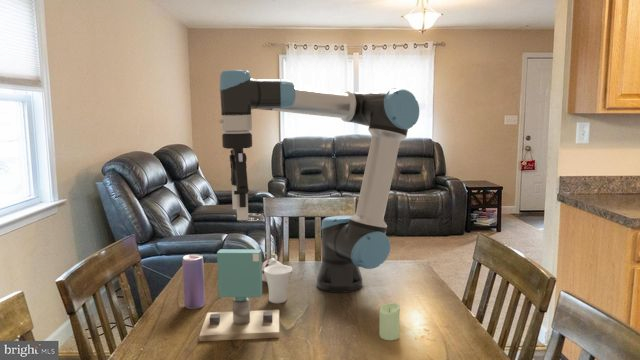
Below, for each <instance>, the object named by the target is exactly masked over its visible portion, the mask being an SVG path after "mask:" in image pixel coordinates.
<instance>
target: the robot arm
mask: <svg viewBox="0 0 640 360" xmlns="http://www.w3.org/2000/svg"><path fill="white" fill-rule="evenodd" d="M219 95H220V96H219V97H220V109H221V110H220V111H221V113H220V114H221V119H219V120H218V123H219V124H221V131H222V132H224V133H222V135H221V136H222V137H221V138H222V148H223V149H226V150H227V149H228V150H229V149H230V151H229V152H230V154H229V161H230V181H231V182H230V183H231V198H232V199H231V200H232V201H231V202H232V210H236V220H237V221H246V220H247V221H248V220H249V194H248V193H249V191H250V189H249V184H248V172H247V154H246V152H244V149H249V148H250V149H251V148H252V147H253V133H251V131H253V119H252V110H262V111H274V112H282V113H291V114H302V115H309V116H319V117H329V118H338V119H341V120H342V121H343V122H344V123H345V122H346V123H354V124H357V125H362V126H366V127H368V131H369V133H370V135H371V139H370V140H371V141H370V145H369V149H368V155H367V159H366V162H365V163H366V165H365V168H364V173H363V177H362V181H361V182H362V183H361V185H360V192H359V197H358V200H357V205H356V211H355V213H354V214H353V215H347V214H346V215H333V216H328V217H327V216H326V217H325V218H323V219H322V221H321V228H320V230H321V262H320V263H321V264H320V267H319V269H318V272H317V276H316V286H317V288H318V289H321V290H322V291H326V292H331V293H350V292H355V291H357V290H359V289H361V288H362V287H363V276H362V274H361V270H360V268H363V269H366V270H372V269H376V268H378V267H380V265H382V264H384V263H385V262H386V260H387V259H388V257H389V255H390V253H391V249H392V248H391V247H392V246H391V241H390V239H389V238H390V237H388V236H387V235H386V234H387V230H388V225H387V223H386V221H385V218H384V217H385V215H386V210H387V205H388V201H389V200H388V199H389V196H390V191H391V185H392V182H393V181H392V180H393V176H394V171H395V167H396V163H397V158H398V153H399V149H400V146H401V145H400V144H401V142H402V141H403V140H405V139H406V138H407V135H408V131H409V130H410V129H411V128H412V127H414V126H415V125H416V124H417V122H418V120H419V118H420V106H419V105H420V104H419V102H418V100H417V99H416V97H415V95H414V94H413V92H411V91H409V90H407V89H404V88H396V87H395V88H391V89H379V90H378V89H377V90H375V89H374V90H367V91H350V90H349V91H348V90H347V91H345V92H344V93H339V92H338V93H337V92H331V91H324V90H316V89H309V88H303V87H301V88H300V87H295V85H294V83H293V82H292V81H291V80H289V79H282V78H279V79H278V78H277V79H275V78H274V79H273V78H271V79H270V78H269V79H267V78H262V79H260V78H259V79H257V78H251V73H250V71H249V70H245V69H227V70H222V72H221V73H220V75H219Z"/></svg>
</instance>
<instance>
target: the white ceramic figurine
mask: <svg viewBox="0 0 640 360" xmlns="http://www.w3.org/2000/svg"><path fill="white" fill-rule="evenodd" d="M270 256H271V258H270V259H267V260H265V261H264V262H263V263H262V283H263V282H264V283H267V278H266V275H265V273H264V268H266V267H268V266H271V265H284V264H283V263H282V262H280V261H278V254H276V253H270Z"/></svg>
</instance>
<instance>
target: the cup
mask: <svg viewBox="0 0 640 360" xmlns="http://www.w3.org/2000/svg"><path fill="white" fill-rule="evenodd" d="M293 271H294V269H293V267H292V266H289V265H286V264H283V265H271V266H268V267H266V268H264V273H265V275H266V278H267V282H266V284H267V288H268V301H269V302H270V303H272V304H282V303H286V301H287V299H288V295H287V294H288V285H289V283H290V279H291V276H292V273H293Z"/></svg>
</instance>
